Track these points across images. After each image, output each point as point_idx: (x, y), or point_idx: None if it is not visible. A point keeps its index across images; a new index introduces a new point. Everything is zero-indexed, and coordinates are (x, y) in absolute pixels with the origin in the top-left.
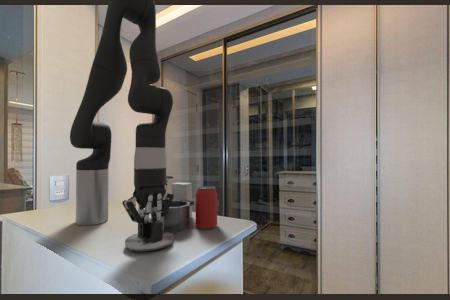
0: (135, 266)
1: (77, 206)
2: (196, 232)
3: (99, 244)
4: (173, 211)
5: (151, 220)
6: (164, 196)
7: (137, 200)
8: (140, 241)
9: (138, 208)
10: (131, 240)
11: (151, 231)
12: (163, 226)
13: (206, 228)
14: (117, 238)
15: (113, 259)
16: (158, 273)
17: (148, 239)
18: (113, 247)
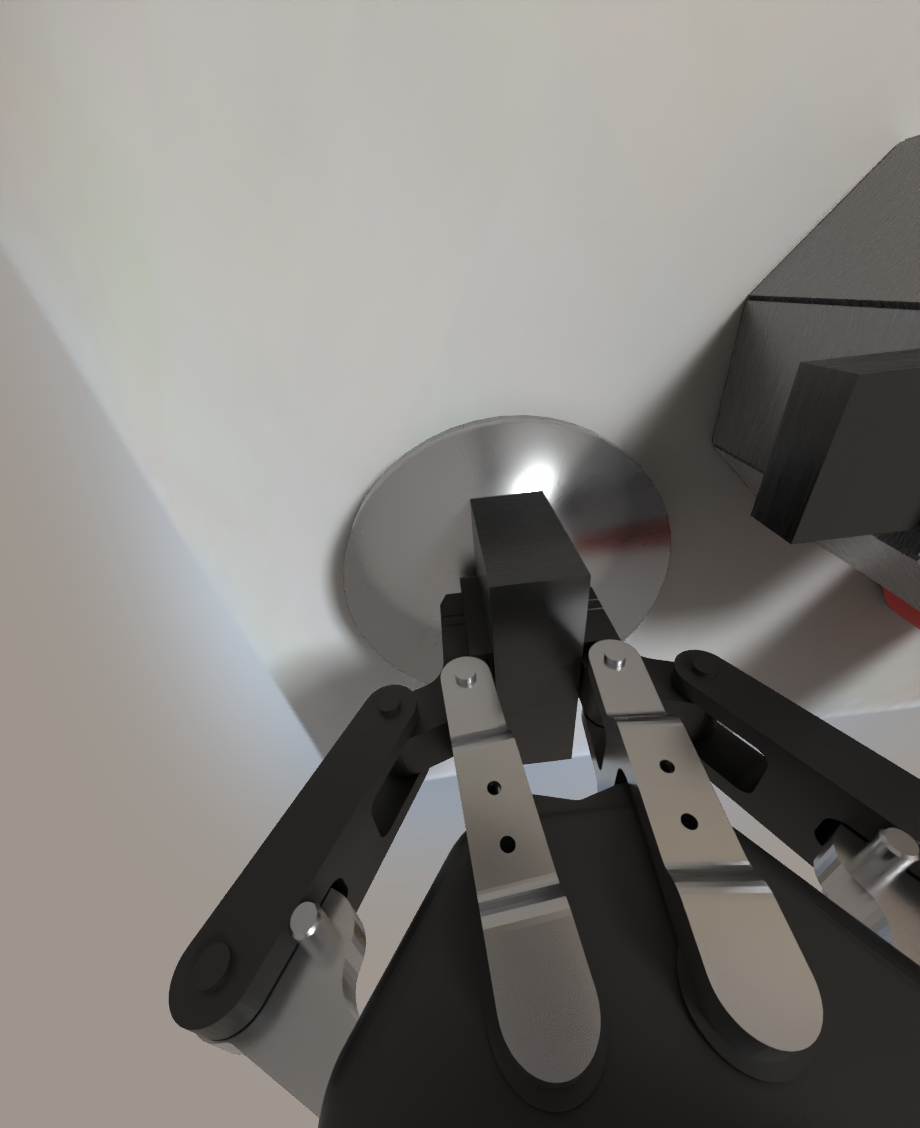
0: (334, 705)
1: None
2: (811, 586)
3: (187, 247)
4: (910, 591)
5: (540, 699)
6: (861, 919)
7: (411, 971)
8: (433, 597)
9: (458, 779)
10: (394, 546)
11: None
12: (748, 457)
13: (886, 599)
14: (377, 209)
15: (262, 600)
16: None
17: None
18: (293, 430)
